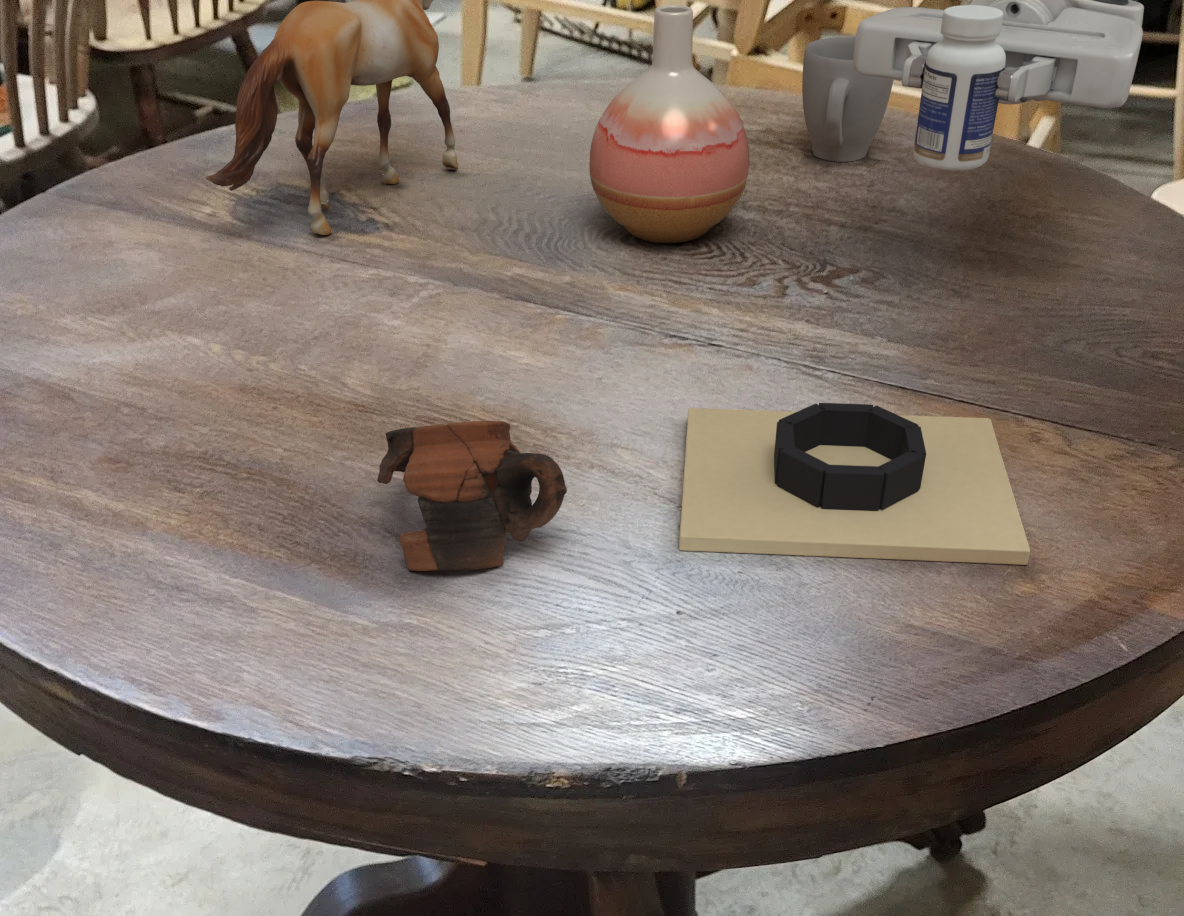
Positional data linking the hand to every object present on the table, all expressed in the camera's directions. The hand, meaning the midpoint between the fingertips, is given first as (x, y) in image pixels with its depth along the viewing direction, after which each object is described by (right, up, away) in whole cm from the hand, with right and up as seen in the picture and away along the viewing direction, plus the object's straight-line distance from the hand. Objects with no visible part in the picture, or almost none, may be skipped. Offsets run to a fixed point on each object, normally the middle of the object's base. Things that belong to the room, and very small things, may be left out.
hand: (959, 81), depth 90 cm
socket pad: (-10, -30, -9) cm, 33 cm away
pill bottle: (0, -4, +4) cm, 6 cm away
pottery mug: (-33, -33, -13) cm, 48 cm away
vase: (-19, -1, +25) cm, 31 cm away
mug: (-1, +12, +39) cm, 41 cm away
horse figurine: (-49, +5, +32) cm, 59 cm away
